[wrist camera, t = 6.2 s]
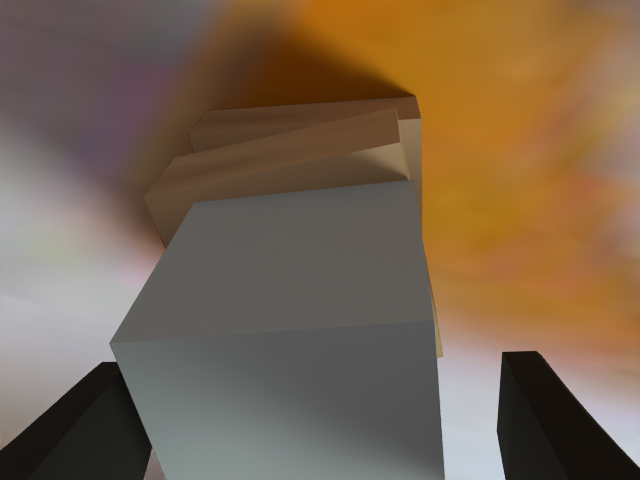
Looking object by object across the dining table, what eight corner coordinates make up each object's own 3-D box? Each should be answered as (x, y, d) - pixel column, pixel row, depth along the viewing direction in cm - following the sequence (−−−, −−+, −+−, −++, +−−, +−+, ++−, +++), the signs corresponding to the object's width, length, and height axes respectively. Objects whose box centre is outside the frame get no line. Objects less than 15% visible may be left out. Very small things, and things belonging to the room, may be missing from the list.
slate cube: (426, 355, 15) (448, 534, 11) (240, 366, 16) (190, 540, 11) (412, 179, 13) (433, 320, 8) (194, 202, 13) (109, 343, 9)
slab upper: (434, 300, 17) (443, 357, 15) (244, 330, 18) (227, 387, 16) (395, 107, 14) (400, 142, 12) (174, 157, 16) (143, 197, 13)
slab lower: (417, 267, 20) (422, 312, 17) (243, 273, 20) (228, 317, 18) (414, 91, 17) (421, 118, 15) (212, 105, 17) (189, 133, 15)
